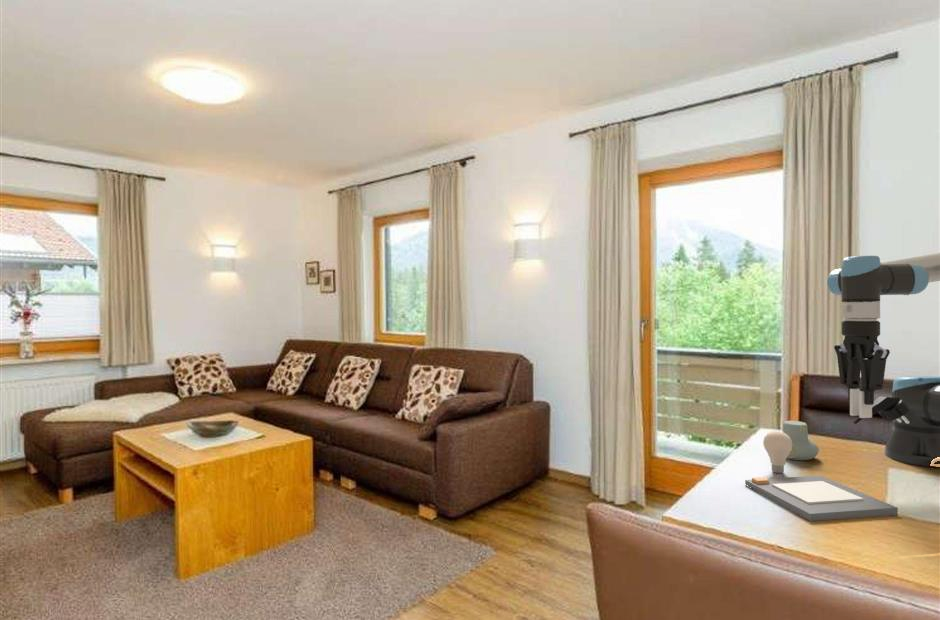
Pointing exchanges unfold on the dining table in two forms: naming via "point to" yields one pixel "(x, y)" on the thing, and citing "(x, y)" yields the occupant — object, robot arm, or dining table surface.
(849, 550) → the dining table surface
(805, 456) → the air freshener
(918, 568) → the dining table surface
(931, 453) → the robot arm
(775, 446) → the light bulb
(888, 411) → the power plug
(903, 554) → the dining table surface
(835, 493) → the socket board
